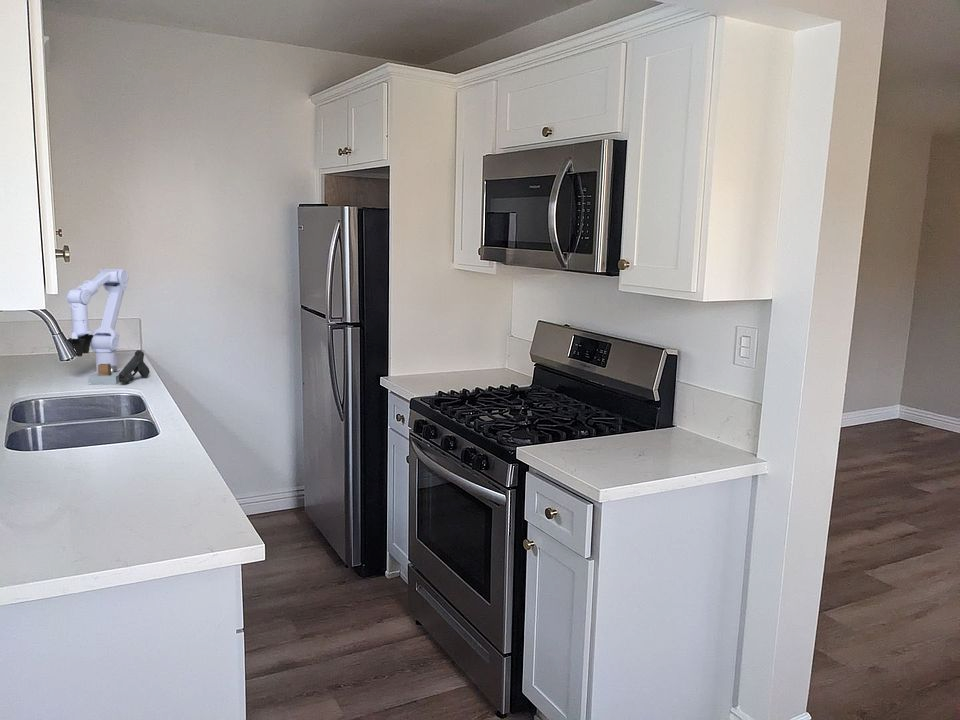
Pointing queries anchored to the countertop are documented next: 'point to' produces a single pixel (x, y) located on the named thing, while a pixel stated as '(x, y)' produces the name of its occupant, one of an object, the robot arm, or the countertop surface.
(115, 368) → the round bit
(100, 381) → the socket block
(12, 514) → the countertop surface
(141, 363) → the handgun
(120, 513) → the countertop surface
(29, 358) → the countertop surface
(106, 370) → the square bit
